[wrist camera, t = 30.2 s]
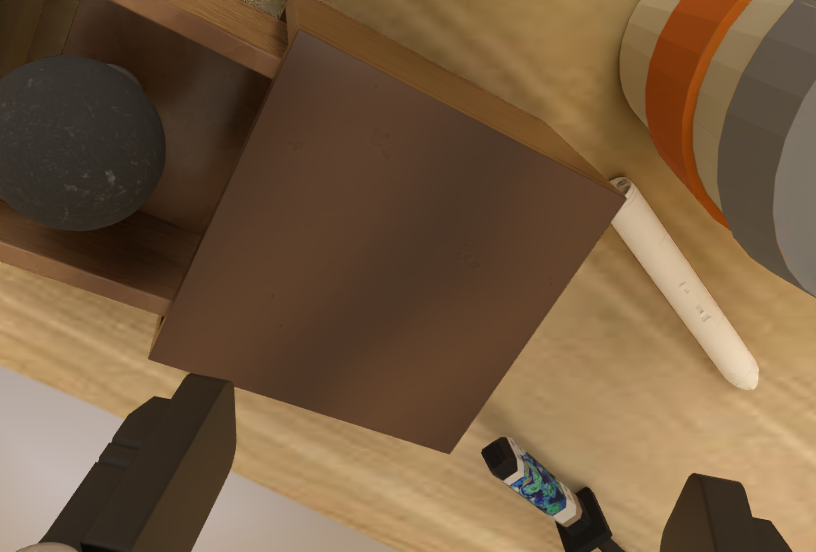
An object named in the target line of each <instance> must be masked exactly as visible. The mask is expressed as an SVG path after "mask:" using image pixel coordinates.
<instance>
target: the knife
mask: <svg viewBox="0 0 816 552" xmlns="http://www.w3.org/2000/svg"><path fill="white" fill-rule="evenodd" d="M481 454H482V456H483V458H484V460H485V462H486V464H487V466H488V468H489V470H490V471H491V473H492V474H493V475H494V476H495V477H496V478H498V479H499V480H500V481H502V482H503V483H505V484H506V485H507V486H509V487H510V488H511V489H513V490H514V491H515V492H517V493H518V494H520V495H521V496H522V497H524V498H525V499H526V500H528V501H529V502H530V503H532V504H533V505H535V506H536V507H537V508H539V509H540V510H541V511H543V512H544V513H545V514H547V515H548V516H550V517H551V518H552V519H554V520H555V522H556V525H557V528H558V531H559V534H560V537H561V540H562V543H563V546H564V549H565V552H591V551H593V550H594V549H596V548H597V547H598V548H599V549H600V550H601V551H602V552H625V551H624V550H623V549H622V548H621V547H620V546H619V545H617V544H616V543H615V542H614V541H613V540H612V539H611V536H612V533H611V531H610V528H609V526H608V524H607V522H606V519H605V517H604V515H603V513H602V510H601V508H600V506H599V504H598V501H597V499H596V497H595V495H594V493H593V492H592V491H591V489H590V488H587V487H585V488H584V489H582V490H581V491H579V492H578V493H576V494H574V493H573V492H572V491H571V490H569V489H568V488H567V487H566V486H565V485H564V484H563V483H561V482H560V481H559V480H558V479H557V478H556V477H555V476H554V475H552V474H551V473H550V472H549V471H548V470H547V469H546V468H544V467H543V466H542V465H541V464H540V463H539V462H538V461H536V460H535V459H534V458H533V457H532V456H531V455H530V454H528V453H527V452H526V451H525V450H524V449H523V448H522V447H521V446H519V445H518V444H517V443H516V442H515V441H514V440H513V439H511V438H510V437H500V438H499V439H497V440H495V441H494V442H492V443H491V444H489V445H488V446H486V447H485V448H484V449H482V452H481Z"/></svg>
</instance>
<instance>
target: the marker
mask: <svg viewBox="0 0 816 552" xmlns="http://www.w3.org/2000/svg"><path fill="white" fill-rule="evenodd" d="M609 182H610V183H611V184H612V185H613V186H614V187H615V188H616V189H617V190H619V191H620V192H621V193H622V194H623V195H624V196H625V197H626V198H627V200H626V201H625V203H624V204H623V206H622V207H621V209H620V210H619V212H618V213H617V214H616V216H615V217H614V219H613V220H612V222H611V224H612V226H613V227H614V228H615V230H616V231H617V232H618V234H619V235H620V236H621V238H622V239H623V240H624V242H625V243H626V245H627V246H628V247H629V249H630V250H631V251H632V253H633V254H634V255H635V257H636V258H637V260H638V261H639V262H640V264H641V265H642V266H643V268H644V269H645V270H646V272H647V273H648V274H649V276H650V277H651V279H652V280H653V281H654V283H655V284H656V285H657V287H658V288H659V289H660V291H661V292H662V294H663V295H664V296H665V298H666V299H667V300H668V302H669V303H670V304H671V306H672V307H673V308H674V310H675V311H676V313H677V314H678V315H679V317H680V318H681V319H682V321H683V322H684V323H685V325H686V326H687V328H688V329H689V330H690V332H691V333H692V334H693V336H694V337H695V338H696V340H697V341H698V342H699V344H700V345H701V347H702V348H703V349H704V351H705V352H706V353H707V355H708V356H709V357H710V359H711V360H712V362H713V363H714V364H715V366H716V367H717V369H718V370H719V371H720V372H721V374H722V375H723V376H724V377H725V378H726V379H727V380H728V381H729V382H730V383H731V384H733V385H735V386H736V387H738V388H742V389H747V390H753V389H755V388H756V386H757V382H758V376H759V369H758V366H757V363H756V361H755V359H754V358H753V356H752V355H751V353H750V351H749V350H748V349H747V347H746V346H745V344H744V343H743V341H742V340H741V339H740V337H739V336H738V334H737V333H736V331H735V330H734V328H733V327H732V325H731V324H730V322H729V321H728V320H727V318H726V317H725V315H724V314H723V312H722V311H721V309H720V308H719V306H718V305H717V304H716V302H715V301H714V299H713V298H712V296H711V295H710V293H709V292H708V290H707V289H706V288H705V286H704V285H703V283H702V282H701V280H700V279H699V277H698V276H697V274H696V273H695V272H694V270H693V269H692V267H691V266H690V264H689V263H688V261H687V260H686V258H685V257H684V256H683V254H682V253H681V251H680V250H679V248H678V247H677V245H676V244H675V242H674V241H673V239H672V238H671V237H670V235H669V234H668V232H667V231H666V229H665V228H664V226H663V225H662V223H661V222H660V221H659V219H658V218H657V216H656V215H655V213H654V212H653V210H652V209H651V207H650V206H649V205H648V203H647V202H646V200H645V199H644V197H643V196H642V194H641V193H640V191H639V190H638V188H637V187H636V186H635V185H634V184H633V182H632V181H631V180H630V179H629V178H627V177H619V178H615V179H613V180H611V181H609Z"/></svg>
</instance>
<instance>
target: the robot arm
mask: <svg viewBox="0 0 816 552" xmlns="http://www.w3.org/2000/svg"><path fill="white" fill-rule="evenodd" d="M235 450H236V418H235V397H234V385H233V382H232V381H230V380H224V379H219V378H214V377H209V376H204V375H199V374H194V373H190V374H188V375H187V376H186V377H185V378H184V380H183V381H182V383H181V384H180V386H179V388H178V389H177V391H176V392H175V394H174V395H173V397H172V398H171V399H166V398H161V397H156V396H154V397H152V398H151V399H150V400H148V401H147V402H145V403H144V404H143V405H141V406H140V407H139V408H137V409H136V410H134V411H133V412H132V413H130V414H129V415H128V416H127V418H126V419H125V421H124V422H123V424H122V425H121V426H120V428H119V429H118V431H117V432H116V434H115V435H114V437H113V439H112V442H111V443H109V444H108V445H107V447H106V448H105V450H104V451H103V453H102V454H101V455H100V457H99V461H98V462H95V464H94V466H93V467H92V468H91V470H90V471H89V473H88V474H87V476H86V477H85V478H84V480H83V481H82V483H81V484H80V486H79V487H78V488H77V490H76V491H75V493H74V494H73V496H72V497H71V499H70V500H69V501H68V503H67V504H66V506H65V507H64V509H63V510H62V512H61V513H60V514H59V516H58V518H57V519H56V520H55V522H54V523H53V525H52V526H51V527H50V529H49V530H48V532H47V533H46V534H45V536H44V537H43V538H42V539H41V540H40V541H39V542H38V543H37V544H34V545H30V546H27V547H25V548H22V549H20V550H18V551H16V552H191V551H192V548H193V546H194V544H195V542H196V540H197V538H198V536H199V534H200V532H201V530H202V528H203V525H204V523H205V522H206V520H207V518H208V515H209V513H210V511H211V509H212V507H213V505H214V503H215V501H216V499H217V497H218V495H219V493H220V491H221V489H222V486H223V485H224V482H225V480H226V478H227V476H228V474H229V472H230V469H231V466H232V463H233V459H234V455H235ZM660 552H792V550H791V549H790V547H789V546H788V544H787V543H786V542H785V540H784V539H783V537H782V536H781V535H780V533H779V532H778V531H777V529H776V528H775V526H774V525H773V524H772V522H771V521H769V520H764V519H759V518H754V517H752V514H751V510H750V506H749V503H748V499H747V495H746V492H745V489H744V487H743V485H742V484H741V483H740V482H737V481H732V480H727V479H722V478H717V477H712V476H707V475H702V474H697V473H693V474H691V475H690V476H689V478H688V479H687V481H686V483H685V485H684V488H683V490H682V492H681V494H680V496H679V498H678V500H677V502H676V505H675V507H674V509H673V511H672V513H671V515H670V517H669V519H668V521H667V524H666V526H665V528H664V531H663V534H662V539H661V545H660Z"/></svg>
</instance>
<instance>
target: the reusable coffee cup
mask: <svg viewBox="0 0 816 552" xmlns="http://www.w3.org/2000/svg"><path fill="white" fill-rule="evenodd" d="M619 69H620V80H621V84H622V88H623V93H624V95H625V97H626V99H627V101H628V103H629V105H630V107H631V109H632V110H633V111H634V112H635V114H636V115H637V116H638V117H639V119H640V120H641V121H642V122H643V123H644V124H645V125H646V127H647V128H648V129H649V131H650V136H651V138H652V140H653V142H654V144H655V146H656V148H657V151H658V153H659V155H660V156H661V157H662V159H663V160H664V161H665V162H666V163H667V165H668V166H669V167H670V168H671V169H672V171H673V172H674V173H675V174H676V175H677V177H678V178H679V179H680V180H681V181H682V182H683V184H684V185H685V186H686V187H687V188H688V189H689V191H690V192H691V193H692V194H693V195H694V196H695V198H696V199H697V200H698V201H699V202H700V203H701V205H702V206H703V207H704V208H705V209H706V211H707V212H708V213H709V214H710V215H711V216H712V218H713V219H715V220H716V221H718V222H719V223H720V224H722V225H723V226H725V227H726V228H727V229H729V230H730V231H731V232H732V234H733V236H734V238H735V239H736V240H737V242H738V243H739V244H740V245H741V246H742V248H743V249H744V250H745V251H746V252H747V254H748V255H749V256H750V257H751V258H752V259H754V260H755V261H757V262H758V263H759V264H761V265H762V266H764V267H765V268H767V269H768V270H769V271H771V272H772V273H774V274H776V275H778V276H779V277H781V278H783V279H784V280H786V281H788V282H789V283H791V284H793V285H795V286H796V287H798V288H800V289H801V290H803V291H805V292H806V293H808V294H810V295H811V296H813V297H815V298H816V0H640V1H639V2H638V4H637V6H636V8H635V9H634V11H633V13H632V15H631V17H630V19H629V21H628V24H627V27H626V30H625V33H624V36H623V39H622V44H621V50H620V57H619Z"/></svg>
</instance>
